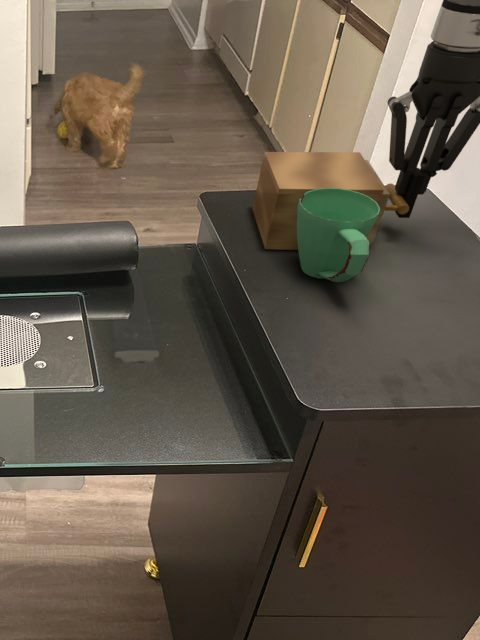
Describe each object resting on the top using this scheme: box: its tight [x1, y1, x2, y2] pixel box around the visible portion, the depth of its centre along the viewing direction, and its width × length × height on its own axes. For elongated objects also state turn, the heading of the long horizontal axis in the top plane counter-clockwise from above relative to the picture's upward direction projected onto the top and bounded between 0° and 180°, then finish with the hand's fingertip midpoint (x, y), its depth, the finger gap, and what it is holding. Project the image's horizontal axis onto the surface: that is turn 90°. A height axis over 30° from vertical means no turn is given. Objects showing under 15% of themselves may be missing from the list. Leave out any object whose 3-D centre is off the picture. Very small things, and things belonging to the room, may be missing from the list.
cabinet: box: [251, 151, 384, 251], centre depth 107 cm, size 14×13×10 cm
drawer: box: [364, 159, 409, 245], centre depth 107 cm, size 17×11×8 cm
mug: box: [297, 188, 380, 283], centre depth 97 cm, size 15×10×10 cm
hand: (401, 213), depth 107 cm, fingers closed
